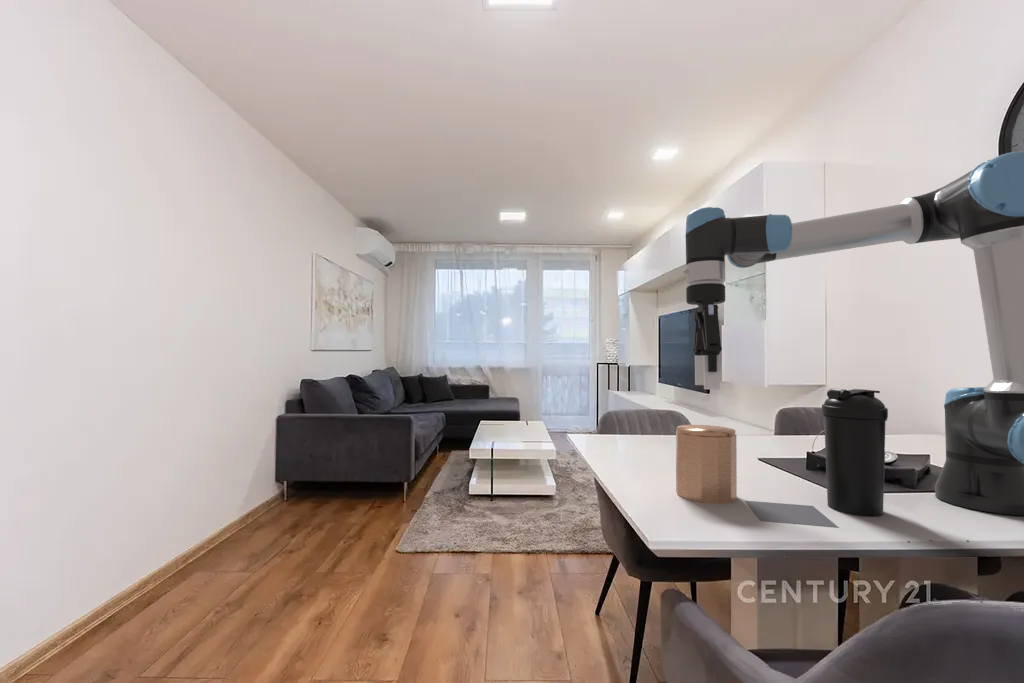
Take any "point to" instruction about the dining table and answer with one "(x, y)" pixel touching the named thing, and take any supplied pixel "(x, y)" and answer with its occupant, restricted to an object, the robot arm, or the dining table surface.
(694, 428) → the copper oval canister
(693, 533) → the dining table surface
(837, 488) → the water bottle
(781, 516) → the mat
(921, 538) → the dining table surface
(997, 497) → the robot arm
